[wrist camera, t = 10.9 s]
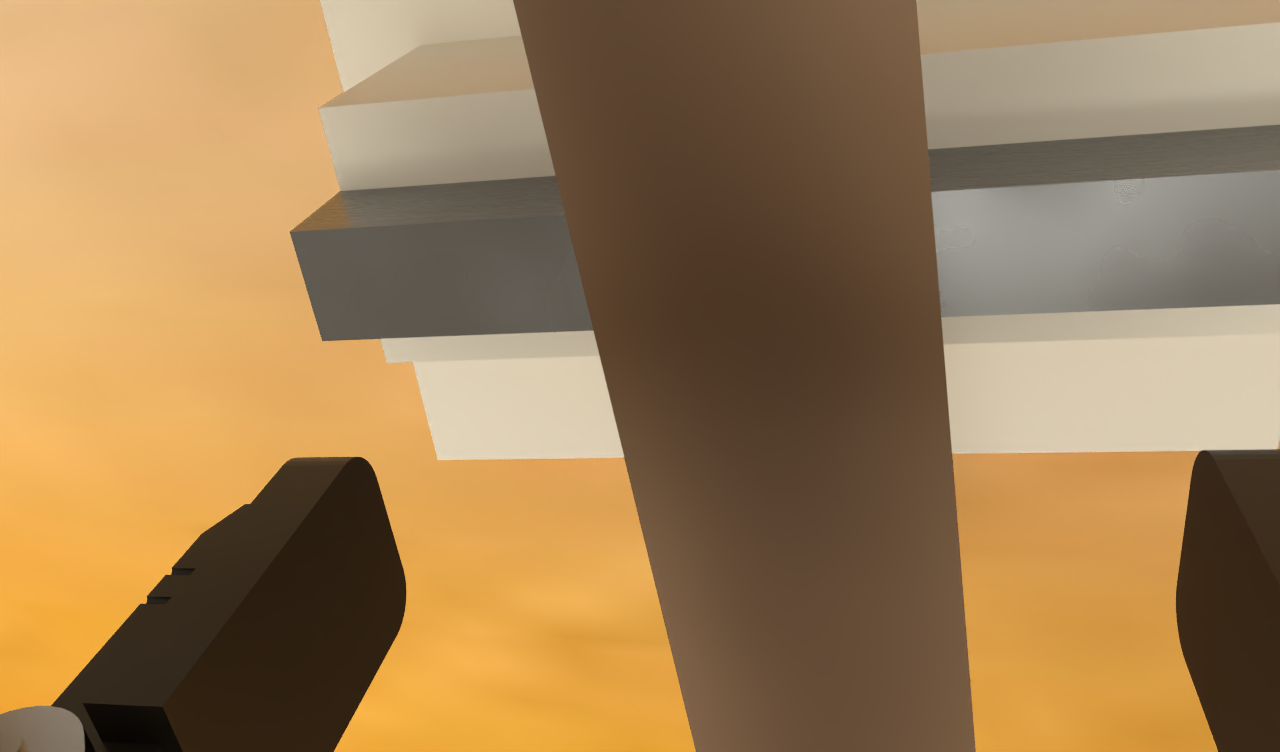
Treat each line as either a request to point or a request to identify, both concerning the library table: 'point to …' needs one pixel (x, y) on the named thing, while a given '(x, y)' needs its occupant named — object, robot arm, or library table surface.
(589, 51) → the walnut bar
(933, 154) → the white stand base
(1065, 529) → the library table surface
